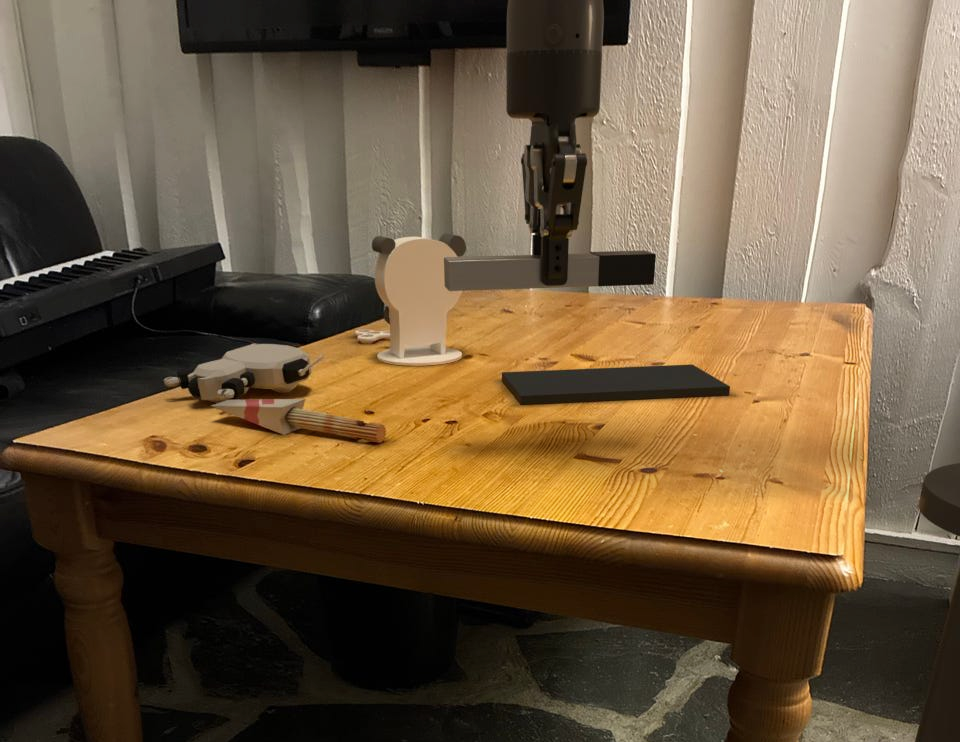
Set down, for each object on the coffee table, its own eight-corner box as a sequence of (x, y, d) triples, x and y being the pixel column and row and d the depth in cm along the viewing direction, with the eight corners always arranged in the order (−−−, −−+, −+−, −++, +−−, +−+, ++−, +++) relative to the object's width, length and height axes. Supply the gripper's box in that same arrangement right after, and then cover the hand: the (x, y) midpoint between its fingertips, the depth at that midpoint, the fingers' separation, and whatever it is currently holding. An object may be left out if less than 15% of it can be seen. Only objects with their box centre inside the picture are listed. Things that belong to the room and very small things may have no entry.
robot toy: (231, 424, 99) (333, 387, 109) (223, 381, 97) (327, 348, 107) (161, 406, 106) (263, 373, 116) (152, 366, 104) (257, 336, 113)
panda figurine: (446, 345, 133) (443, 230, 126) (480, 360, 124) (479, 236, 117) (365, 353, 128) (358, 234, 121) (395, 368, 119) (389, 241, 112)
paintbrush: (230, 384, 98) (391, 415, 90) (233, 410, 100) (391, 443, 92) (205, 391, 95) (368, 424, 87) (207, 418, 97) (369, 453, 89)
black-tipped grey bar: (642, 280, 84) (644, 250, 83) (654, 284, 82) (656, 253, 80) (444, 286, 82) (443, 255, 81) (449, 291, 79) (448, 259, 78)
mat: (691, 372, 116) (692, 364, 116) (729, 395, 106) (730, 386, 105) (501, 380, 113) (501, 372, 113) (521, 404, 103) (521, 395, 102)
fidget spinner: (354, 334, 140) (353, 329, 139) (396, 332, 141) (396, 327, 141) (358, 343, 134) (358, 337, 133) (403, 341, 135) (402, 335, 135)
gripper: (626, 40, 68) (613, 292, 76) (578, 56, 80) (571, 271, 88) (525, 39, 67) (522, 295, 75) (492, 56, 79) (492, 274, 87)
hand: (549, 281), depth 82 cm, fingers closed on black-tipped grey bar, 3 cm apart
